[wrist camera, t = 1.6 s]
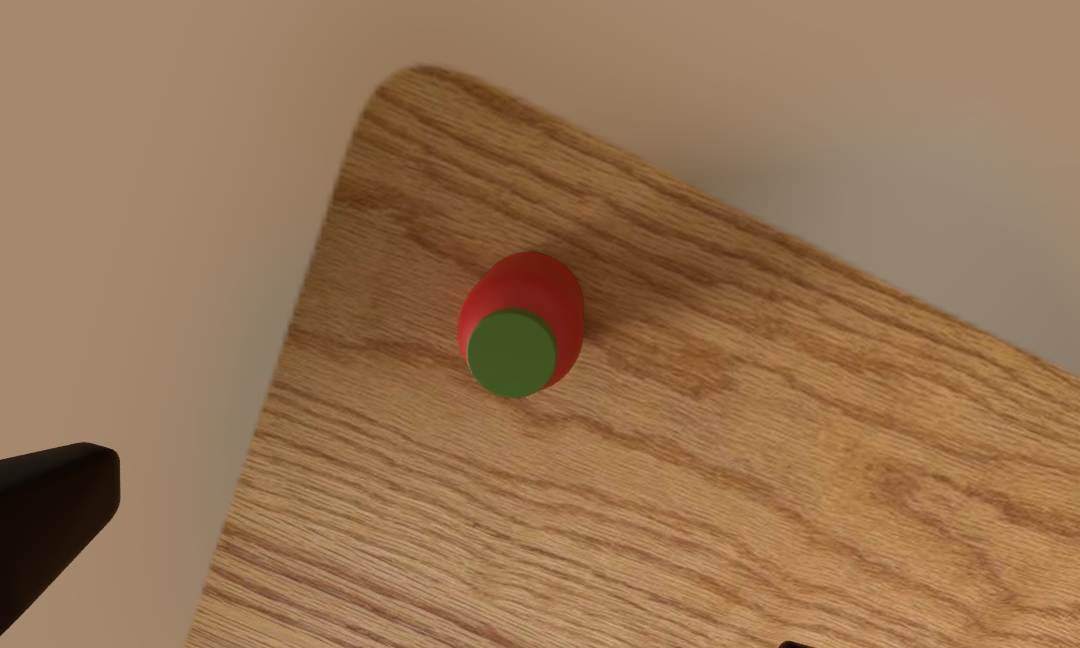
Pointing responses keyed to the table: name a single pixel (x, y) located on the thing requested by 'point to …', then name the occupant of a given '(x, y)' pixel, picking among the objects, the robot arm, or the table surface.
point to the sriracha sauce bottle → (522, 325)
